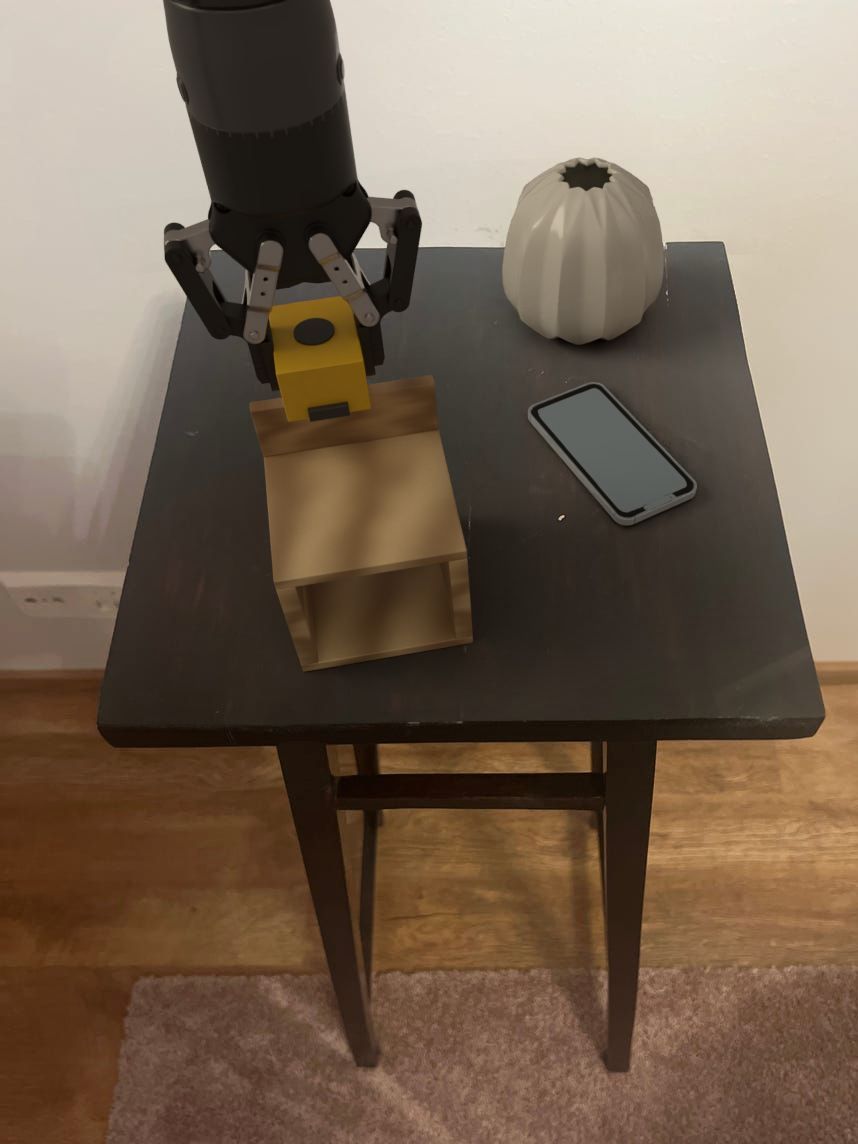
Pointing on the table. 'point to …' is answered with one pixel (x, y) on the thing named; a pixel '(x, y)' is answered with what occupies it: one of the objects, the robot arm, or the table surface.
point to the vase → (583, 252)
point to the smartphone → (612, 453)
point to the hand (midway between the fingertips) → (322, 373)
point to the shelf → (365, 528)
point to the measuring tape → (318, 359)
